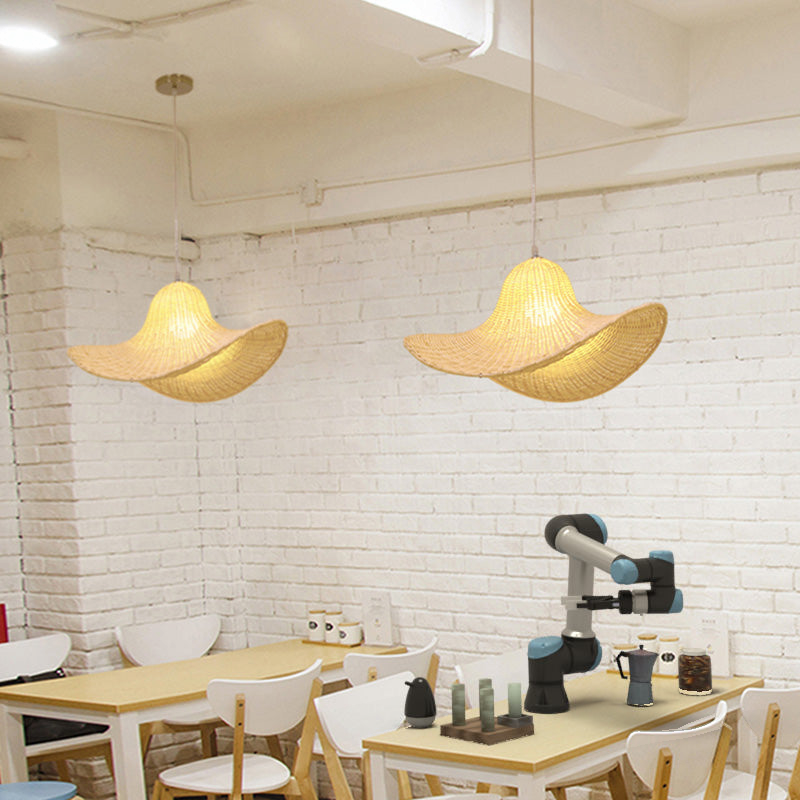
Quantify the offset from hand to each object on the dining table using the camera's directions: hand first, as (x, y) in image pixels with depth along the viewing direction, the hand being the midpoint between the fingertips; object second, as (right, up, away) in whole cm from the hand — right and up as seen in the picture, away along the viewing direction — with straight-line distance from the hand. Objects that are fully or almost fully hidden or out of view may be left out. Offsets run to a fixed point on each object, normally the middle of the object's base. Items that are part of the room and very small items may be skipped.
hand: (563, 603), depth 365 cm
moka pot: (+30, -40, +30) cm, 58 cm away
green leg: (-16, -35, -11) cm, 40 cm away
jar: (+54, -40, +49) cm, 83 cm away
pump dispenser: (-44, -40, +4) cm, 59 cm away
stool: (-24, -38, -11) cm, 46 cm away
